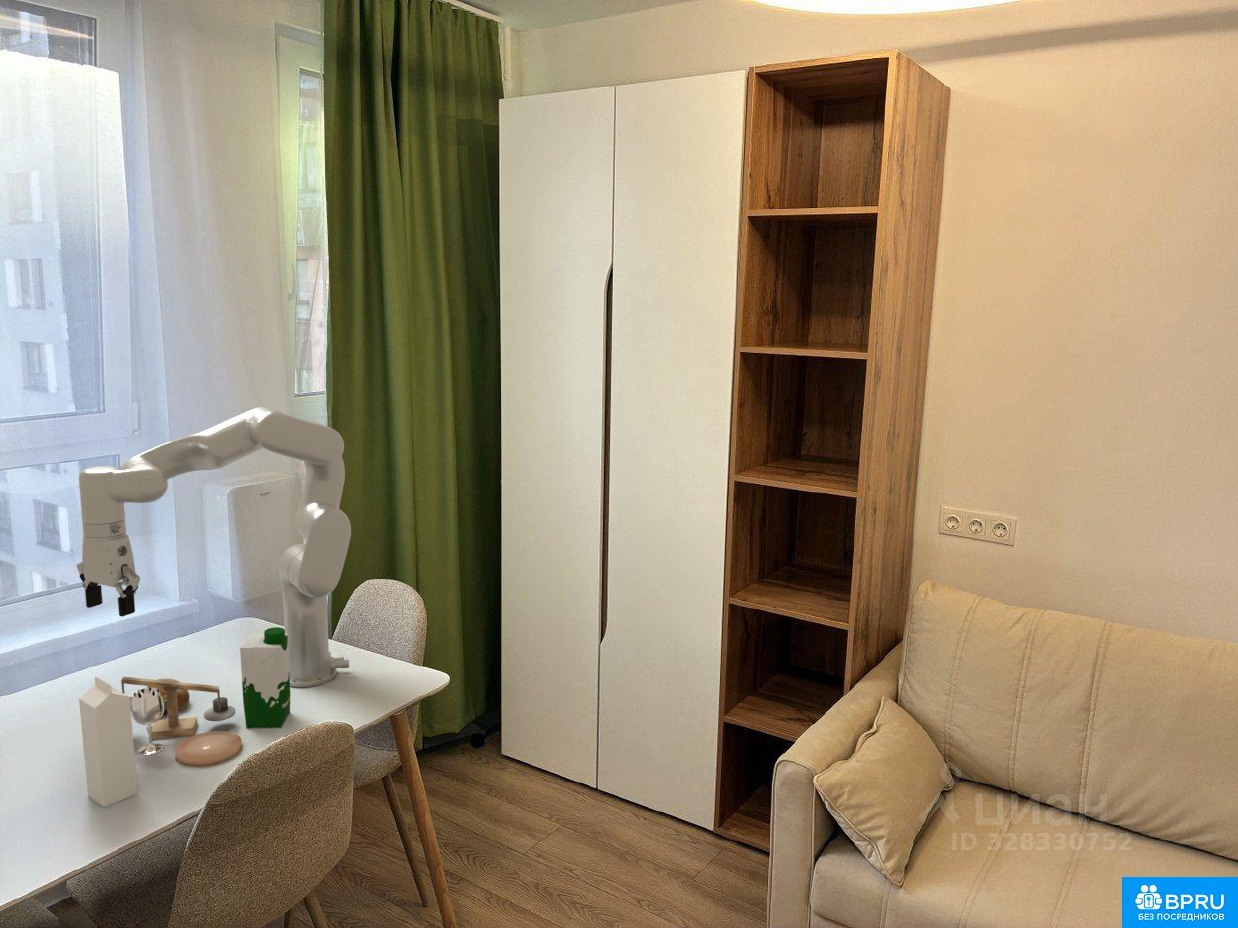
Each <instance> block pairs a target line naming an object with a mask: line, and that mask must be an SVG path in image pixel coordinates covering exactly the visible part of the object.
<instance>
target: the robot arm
mask: <svg viewBox="0 0 1238 928" xmlns="http://www.w3.org/2000/svg"><path fill="white" fill-rule="evenodd" d="M261 449H263V450H265V451H269V452H272V453H275V454H277V455H281V456H284V457H287V458H290V459H291V458H292V459H295V460H299V461H303V463H304V467H305V479H304V485H303V489H302V493H301V497H300V500H299V504H298V508H297V511H296V515H295V520H294V526H295V530H296V532H297V533H298V534H299V536H301V537H302V538H303V539H305V540H306V542H305V543H298V544H294V545H292V546H290V547H288V548H287V549H286V550H285V551H284V552H283V554H282V555H281V558H280V560H279V564H278V575H279V581H280V586H281V591H282V603H283V604H282V605H283V621H284V622H283V623H284V625H283V628H284V629H285V634H289V672H290V687H293V688H295V687H296V688H307V687H315V686H319V685H322V684H325V683H328V682H329V681H331V680H333V679H334V678H335V677H336V676H337V669H348V668H350V659H345V656H339V657H334V656H332V653H331V651H330V650H329V648H330V647H329V622H328V621H329V620H328V617H329V616H328V598H327V596H328V595H329V594H331V593H332V592H333V591H334V590H335V589H336V587H337V586H338V584H339V583H340V582H339V581H340V579H341V576H342V572H343V568H344V565H345V561H346V559H347V555H348V550H349V545H350V542H351V538H352V525H351V521H350V519H349V517H348V515H347V514H346V513H345V512H344V511H343V510H342V509H340V504H341V500H342V495H343V490H344V485H345V479H346V471H345V470H346V469H345V463H344V459H343V453H344V450H345V442H344V440H343V437H342V435H341V434H340V433H339V432H338V431H337V430H335V429H334V428H332V427H330V426H327V425H325V424H323V423H320V422H317V421H313V420H304V419H300V418H298V417H295V416H291V415H289V414H286V413H283V412H281V411H278V410H277V409H274V408H271V407H269V406H268V407H267V406H258V407H255V408H251V409H249V410H247V411H244V412H243V413H241V414H238V415H235V416H234V417H232V418H231V417H230V419H227V420H225V421H223V422H221V423H218V424H216V425H214V426H211V427H209V428H206V429H205V430H202V431H200V432H198V433H194V434H190V435H188V436H185V437H182V438H179V439H175V440H172V441H169V442H168V441H167V442H166V443H162V444H160V445H158V446H156V447H153V448H151V449H148V450H146V451H144V452H142V453H140V454H137V455H135V456H133V457H131V458H129V459H127V461H125V462H124V463H123V464H122V465H121V466H120V468H117V467H116V466H115V467H114V466H105V465H102V466H101V465H100V466H92V467H87V468H84V469H83V470H81V471H80V473H79V475H78V484H79V497H80V498H79V499H80V507H81V508H80V511H81V522H82V532H83V534H82V535H83V538H82V548H81V549H82V556H81V557H82V560H81V562H79V563H78V564H76V568H77V571H78V573H79V579H80V580H81V581H82V588H83V589H84V593H85V595H84V596H85V606H86V608H88V609H91V608H94V607H97V606H100V605H102V604H103V593H102V586H106V587H110V588H111V587H112V588H115V590H116V592H117V594H118V595H119V596H118V597H117V605H118V617H125V616H129V615H131V614H135V612H136V606H135V603H136V602H135V594H136V593H137V591H138V589H139V583H140V581H141V577H140V576H139V575H138V574H137V573H136V567H135V559H134V553H133V549H132V544H131V541H130V538H129V535H127V529H126V528H127V526H126V525H127V524H126V511H125V503H129V504H130V503H133V504H135V503H136V504H147V503H148V504H149V503H153V502H157V501H158V500H160V499H161V498H163V497H164V495H166V493H167V490H168V488H169V484H168V483H169V482H168V480H170V479H173V478H174V477H177V476H181V475H183V474H186V473H190V472H196V471H197V472H198V471H213V470H218V469H223V468H224V467H226V466H228V465H231V464H233V463H234V462H236V461H238V460H239V461H240V459H242V458H246V457H247V456H249V455H251V454H253V453H255V452H257V451H260V450H261ZM123 586H125V589H124V587H123Z"/></svg>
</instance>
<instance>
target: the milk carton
mask: <svg viewBox="0 0 1238 928" xmlns="http://www.w3.org/2000/svg"><path fill="white" fill-rule="evenodd" d="M239 651H240V669H241V687H242V701H243V702H242V703H243V710H244V719H245V726H246V727H245V728H246V729H282V728H283V726H284V724H285V722H286V720H287V718H288V717H289V715H290V713H291V686H290V672H289V634H285V628H284V627H276V626H274V627H270V628H267V629H265V630H264V633H250V635H249V636H248V637H247V638H246V640H245V641H244V642H243V643H242V644H241V646H240V647H239Z"/></svg>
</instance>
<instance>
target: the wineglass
mask: <svg viewBox="0 0 1238 928" xmlns="http://www.w3.org/2000/svg"><path fill="white" fill-rule="evenodd" d="M132 697H133V698H132V705H131V718H132V719H133V720H134V721H135V723H136V724H139V725H146V731H147V733H148V744H145V745H143V746H141V747H140V748H139V749H138V751H137V752H138V754H139V755H142V756H151V755H155V754H158V753H160V752H162V751H163V750H164V748H165V747H164V745H163V744H161V743H153V739H152V738H151V732H152V726H153V724H154V723H155V722H157V721H158V720H162V718H163V717H164V716H163V714H164V701H163V697H162V694H161V692H160V690H159V689H158V688H147V687H144V688H140V689H138V690H136V691H135V692H134V693H133V694H132Z"/></svg>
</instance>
